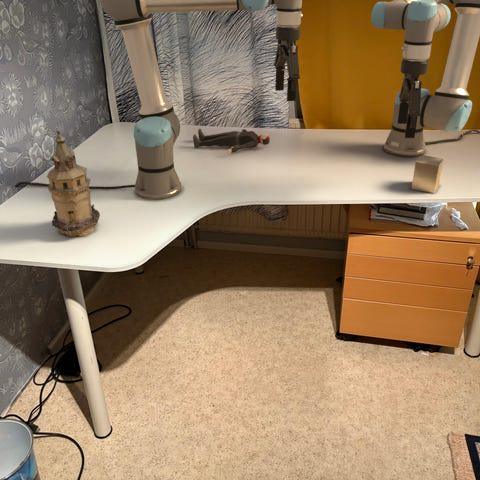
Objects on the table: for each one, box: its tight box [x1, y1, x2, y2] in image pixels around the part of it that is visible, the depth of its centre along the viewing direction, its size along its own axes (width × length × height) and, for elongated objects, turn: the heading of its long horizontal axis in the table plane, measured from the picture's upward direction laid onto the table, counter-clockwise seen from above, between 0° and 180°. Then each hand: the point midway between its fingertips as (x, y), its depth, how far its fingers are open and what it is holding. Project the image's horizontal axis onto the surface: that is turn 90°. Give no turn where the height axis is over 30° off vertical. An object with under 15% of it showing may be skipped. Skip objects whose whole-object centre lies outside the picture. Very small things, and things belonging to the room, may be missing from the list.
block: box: [411, 154, 444, 194], centre depth 176 cm, size 7×7×10 cm
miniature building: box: [46, 129, 101, 237], centre depth 148 cm, size 13×14×30 cm
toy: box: [192, 128, 271, 155], centre depth 214 cm, size 26×6×30 cm
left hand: (285, 95), depth 175 cm, fingers open, 13 cm apart
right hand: (405, 130), depth 165 cm, fingers open, 13 cm apart
